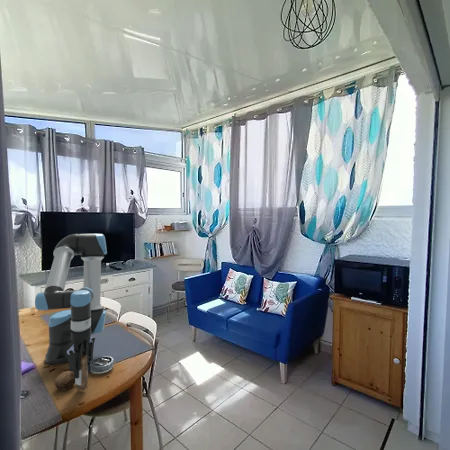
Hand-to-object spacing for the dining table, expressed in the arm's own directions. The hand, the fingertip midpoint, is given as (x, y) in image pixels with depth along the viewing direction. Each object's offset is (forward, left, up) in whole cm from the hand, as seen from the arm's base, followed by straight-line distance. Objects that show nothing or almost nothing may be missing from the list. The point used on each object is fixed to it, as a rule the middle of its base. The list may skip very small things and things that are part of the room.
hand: (81, 382), depth 118 cm
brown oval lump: (-9, 0, -4) cm, 10 cm away
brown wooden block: (0, 0, -3) cm, 3 cm away
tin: (-5, +17, -4) cm, 18 cm away
